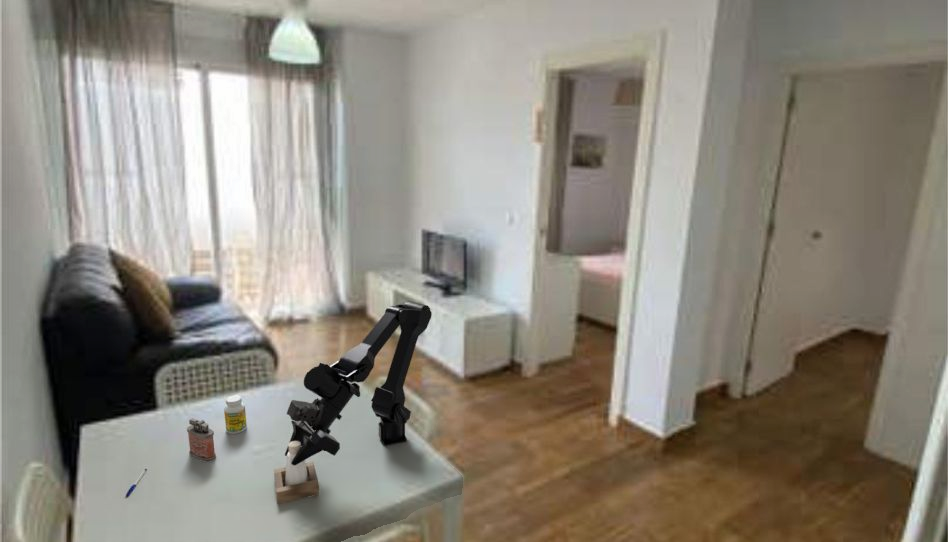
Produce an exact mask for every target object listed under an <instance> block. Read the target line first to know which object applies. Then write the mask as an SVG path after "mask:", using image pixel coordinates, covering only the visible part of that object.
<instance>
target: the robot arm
mask: <svg viewBox="0 0 948 542" xmlns="http://www.w3.org/2000/svg"><path fill="white" fill-rule="evenodd" d="M432 315H433V312H432V311H431V308H430V306H429V305H428V304H424V303H419V302H415V301H410V300H409V301H406V302H405V303H403V304H395V305H390V306H387V307H386V309H385V311H384V314H383V315H382V316H381V317H380V319H378V321H377V322H376V324H375V325H374V326H373V327H372V329H370V331H369V332H368V334H367V335H365V338H363V340H362V341H361V342H360V343H359V344H358V345H357V346H354V347H352V348H351V349H348V351H347V352H345V354H344V355H342V356H341V357H340V358H339V360H337V361H336V362H334V363H333V364H331V365H329V364H327V363H325V362H322V361H320V362H319V364H318V365H317V366H314V367H313V368H311V369H310V370H309V371H307V372H306V373H305V375H304V378H303V386H304V388H305V389H306V390H308V391H310V392H312V393H313V394H315V395H317V396H318V397H320V399H319V398H318V397H317V398H315V399H314V400H313V401H312V402H308V401H304V400H303V401H302V400H295V399H292V400H291V401H290V403H289V406H288V409H287V411H286V415H288V416H289V417H290V419H291V424H292V430H293V431H292V435H291V437H290V440H289V443H290V442H292V441H299V442H300V443H301V448H300V449H299V451H298V452H297V454H296V455H295V457H294V459H293V461H292V462H291V464H292V465H294V466H295V465H297V464H299V463H300V462H302V461H304V460H305V461H306V460H307V459H309V458H311V457H312V456H315V455H317V454H319V453H321V452H322V451H324V452H327V453H328V454H330V455H333V456H336V455H337V454H338V452H339V451H340V449H341V445H340V444H341V443H340V442H339V441H338V440H337V439H336V438H335V437H334V436H333V435H331V434H330V433H331V431H332V430H331V429H330V427H331V426H332V425H333V423H334V422H335V421H336V419H337V420H338V421H340V420H341V419H342V417H343V416H342V414H341V413H342V411H343V410H344V408H345V407H346V406H347V404H349V401H350V400H351V399H352V398H353V396H355V397H357V398H360V397H361V391H360V390H361V388H360V387H361V386H360V385H359V384H357V383H363V382H365V380H367V379H368V377H369V375H370V374H371V372H372V370H373V369H374V367H375V362H376V361H375V359H376V357H377V355H378V353H379V352H380V351H381V350H382V348H383V347H384V346H385V345H386V344H387V342H388V341H389V340H390V338H391V337H392V335H393V334H394V333H395V331H396V330H397V329H399V327H400V334H399V336H398V337H399V338H398V339H397V340H398V341H397V344H396V347H395V350H394V353H393V357H392V360H391V364H390V367H389V370H388V373H387V377H386V379H385V382H384V383H383V384H382V385H381V386H380V387H379V386H376V387H375V389H374V393H373V397H372V398H371V409H372V411H373V413H374V414H375V417H378V418H380V420H379V421H380V422H378V437H379V439H380V441H382V444H383V446H388V445H393V444H398V443H404V442H407V441H408V438H407V437H406V424H407V423H408V421H409V420H410V418H411V413H412V411H411V410H410V409H409V408H407V407H406V406H405V402H406V395H405V390H404V385H405V381H406V377H407V375H408V372H409V368H410V365H411V362H412V358H413V355H414V352H415V349H416V345H417V342H418V339H419V337H420V336H421V334H422V333H423V332H425V330H427V328H428V326H429V323H430V320H431V319H432ZM289 443H288V444H289ZM288 452H289V447H288V446H287V448H286V450H285V453H284V456H285V457H287V454H288Z"/></svg>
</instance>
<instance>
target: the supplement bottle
mask: <svg viewBox="0 0 948 542" xmlns="http://www.w3.org/2000/svg"><path fill="white" fill-rule="evenodd" d="M225 404H226V405H225V406H224V409H223V411H224V420H225V422H224V423H225V431H226V432H227V434H233V435H235V434H240V433H242V432H243V431H245V430H246V429H247V427H248V426H247V424H248V423H247V417H246V416H247V413H246V405H245V404H244V403H243V399H242V396H240V395H238V394H237V395H230V396H229V397H226V399H225Z"/></svg>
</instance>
